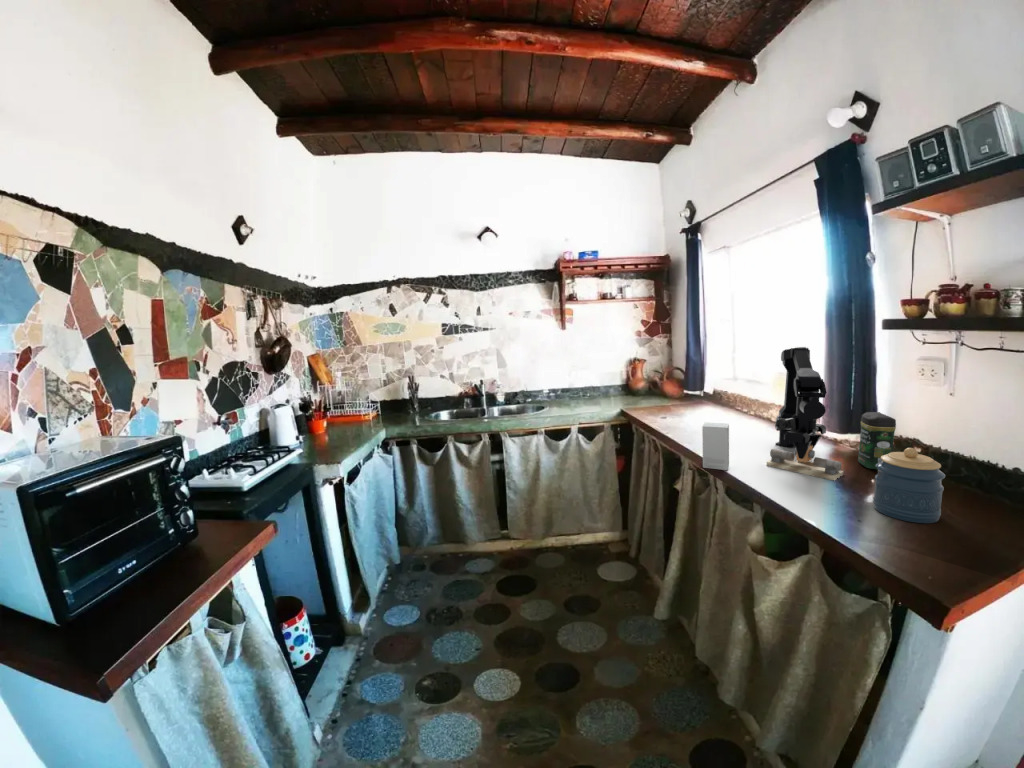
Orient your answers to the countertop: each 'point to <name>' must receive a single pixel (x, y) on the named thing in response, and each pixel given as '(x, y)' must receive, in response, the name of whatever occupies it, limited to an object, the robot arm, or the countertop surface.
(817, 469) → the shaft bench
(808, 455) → the coupling
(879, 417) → the coffee jar
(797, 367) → the robot arm
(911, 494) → the canister
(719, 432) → the skincare box
